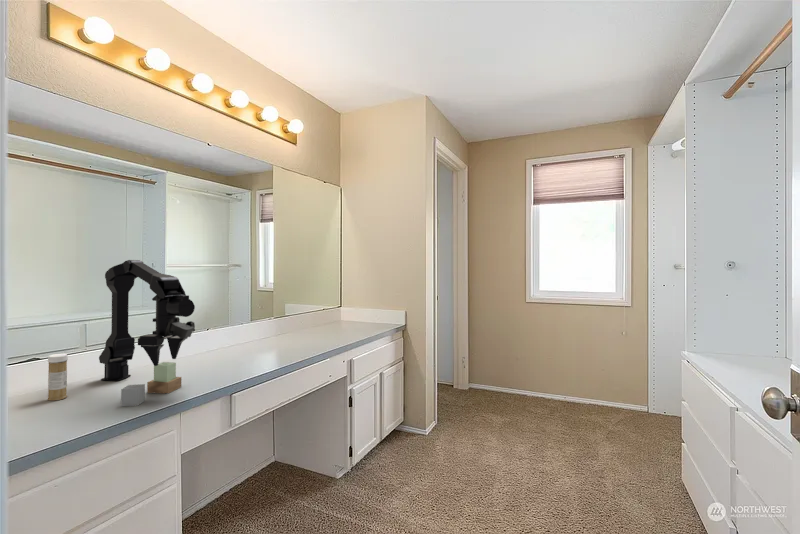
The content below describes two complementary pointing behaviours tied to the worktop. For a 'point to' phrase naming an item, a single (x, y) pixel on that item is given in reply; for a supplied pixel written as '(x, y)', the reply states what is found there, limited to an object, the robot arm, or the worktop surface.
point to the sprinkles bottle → (57, 376)
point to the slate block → (133, 395)
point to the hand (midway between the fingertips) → (165, 362)
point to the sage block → (165, 371)
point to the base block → (163, 386)
